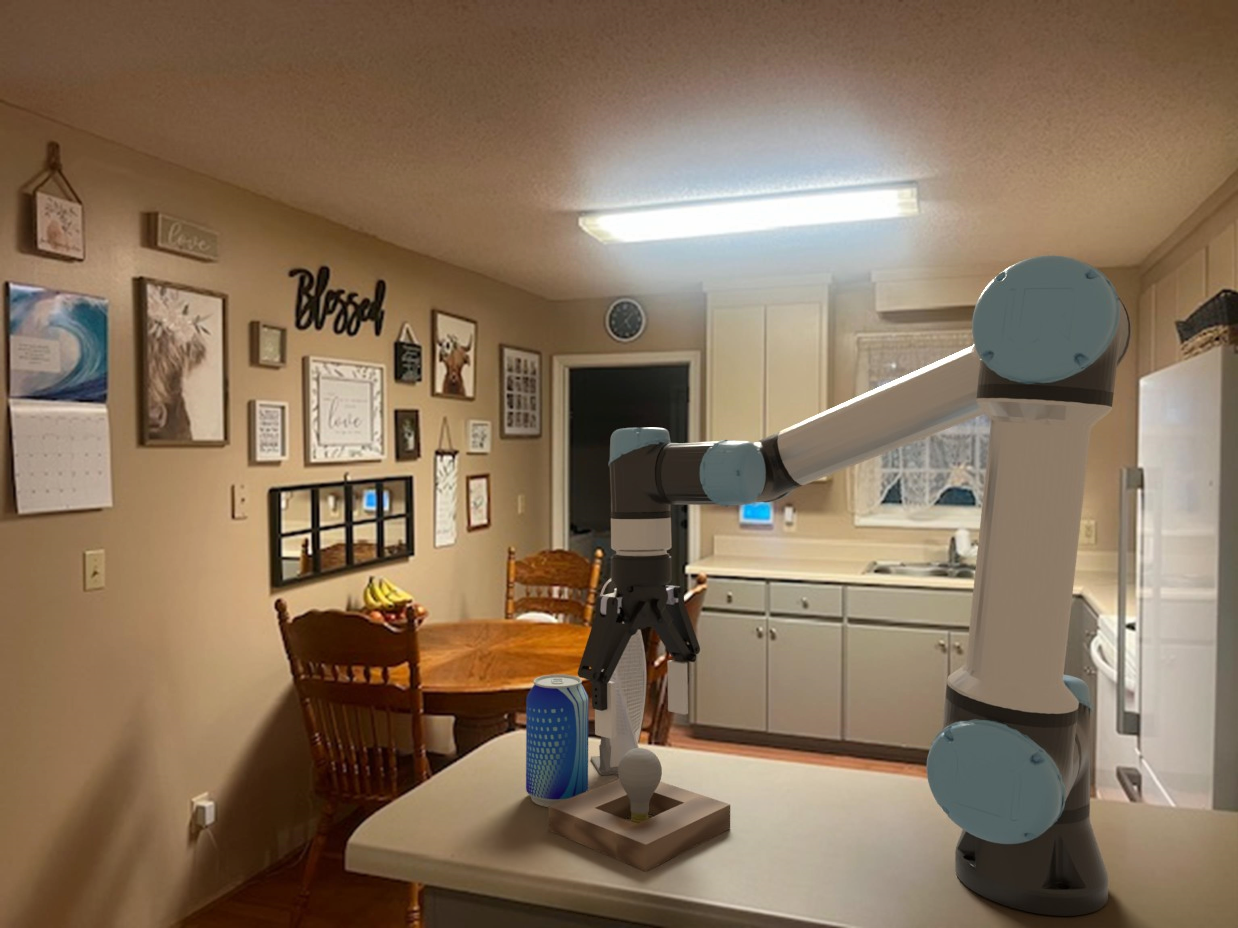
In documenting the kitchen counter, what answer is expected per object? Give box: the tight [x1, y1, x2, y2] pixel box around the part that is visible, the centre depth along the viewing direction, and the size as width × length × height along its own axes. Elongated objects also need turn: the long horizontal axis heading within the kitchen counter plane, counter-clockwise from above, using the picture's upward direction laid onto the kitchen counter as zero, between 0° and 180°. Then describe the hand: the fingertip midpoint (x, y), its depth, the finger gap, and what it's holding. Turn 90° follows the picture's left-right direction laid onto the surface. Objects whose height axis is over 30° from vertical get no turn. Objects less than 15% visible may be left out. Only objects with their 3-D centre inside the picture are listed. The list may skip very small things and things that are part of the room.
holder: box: [548, 778, 731, 872], centre depth 110 cm, size 16×16×3 cm
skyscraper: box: [590, 577, 647, 776], centre depth 134 cm, size 8×8×28 cm
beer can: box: [525, 674, 590, 808], centre depth 120 cm, size 8×8×16 cm
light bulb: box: [617, 747, 663, 824], centre depth 110 cm, size 6×6×10 cm
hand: (643, 723), depth 109 cm, fingers open, 13 cm apart
